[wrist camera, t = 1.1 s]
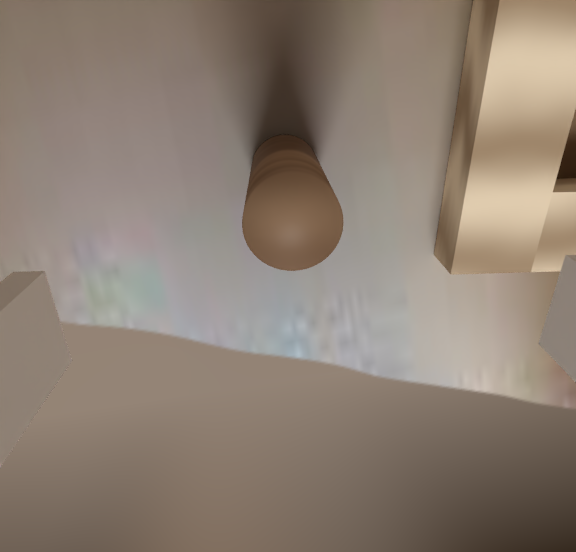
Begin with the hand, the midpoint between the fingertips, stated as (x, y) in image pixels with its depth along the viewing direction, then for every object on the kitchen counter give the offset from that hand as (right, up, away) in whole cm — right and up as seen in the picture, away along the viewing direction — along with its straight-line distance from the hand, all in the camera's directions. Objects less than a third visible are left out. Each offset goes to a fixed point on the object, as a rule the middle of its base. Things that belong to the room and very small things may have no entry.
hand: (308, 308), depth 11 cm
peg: (-1, +7, +15) cm, 16 cm away
